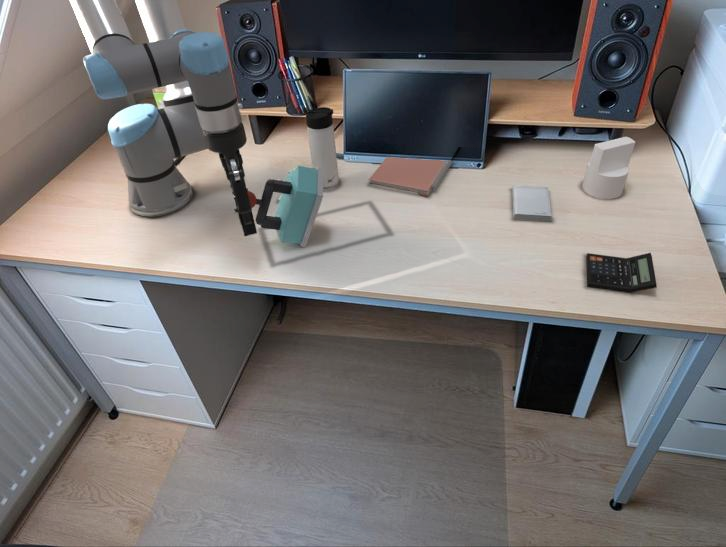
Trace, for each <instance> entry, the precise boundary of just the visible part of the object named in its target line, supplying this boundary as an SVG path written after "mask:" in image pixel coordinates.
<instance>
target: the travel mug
mask: <svg viewBox="0 0 726 547" xmlns="http://www.w3.org/2000/svg"><path fill="white" fill-rule="evenodd" d="M333 114H334V109H333V108H330V107H327V106H326V107H325V106H320V107H316V108H313V109H310V110H309V111H308V112H307V113H306V115H305V123H306V130H307V137H308V145H309V152H310V159H311V168H314V169H316V168H317V167H322V168H323V190H331V189H335V188H337V186H338V185H340V179H339V178H340V177H339V167H338V158H337V148H336V138H335V129H334V122H333V121H334V120H333Z"/></svg>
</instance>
